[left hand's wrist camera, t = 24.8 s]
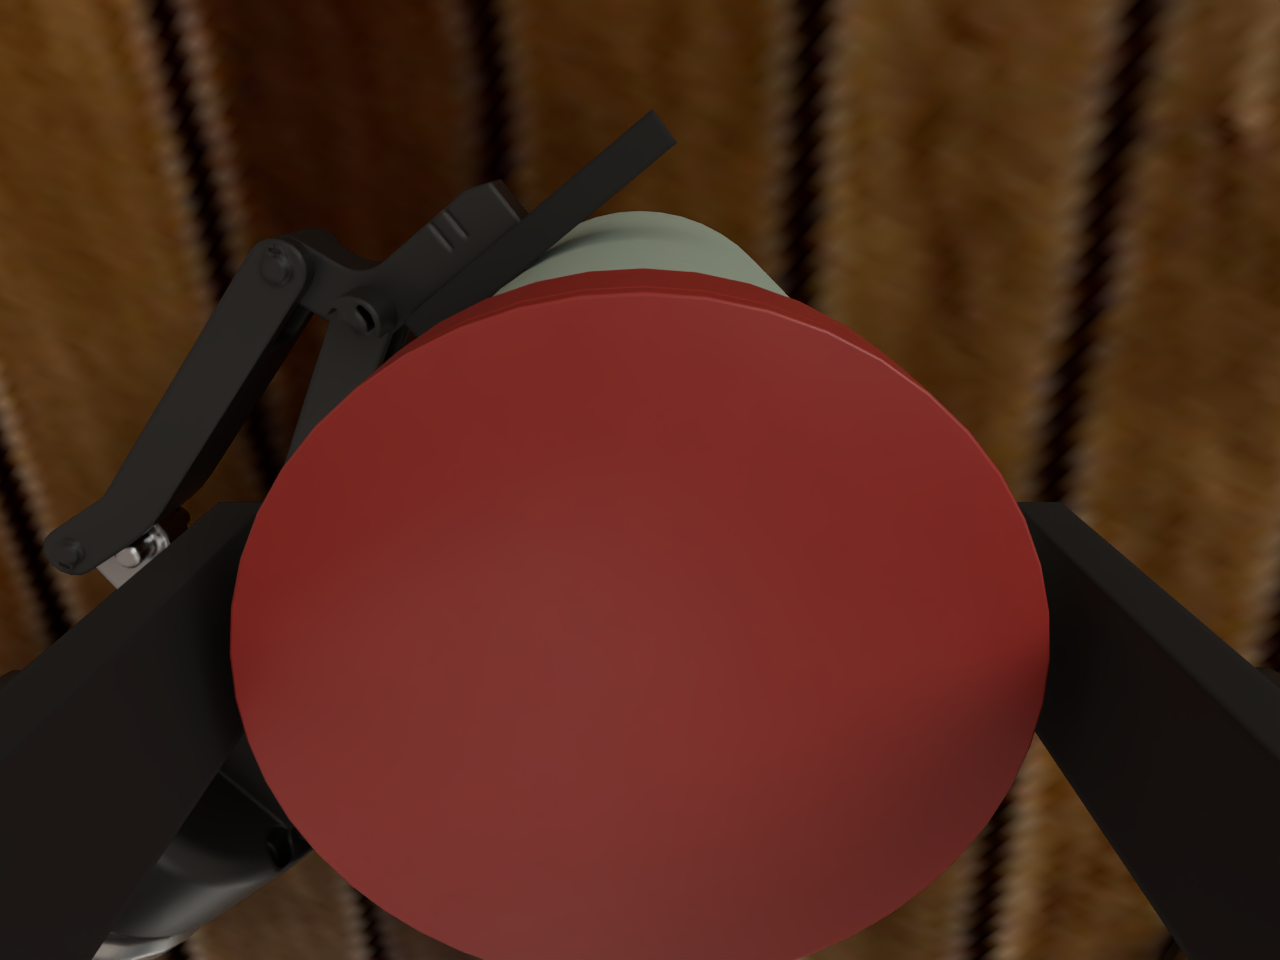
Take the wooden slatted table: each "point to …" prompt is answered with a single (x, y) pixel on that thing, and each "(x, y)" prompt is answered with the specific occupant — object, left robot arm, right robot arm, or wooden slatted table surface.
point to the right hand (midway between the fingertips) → (799, 319)
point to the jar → (644, 250)
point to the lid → (639, 627)
